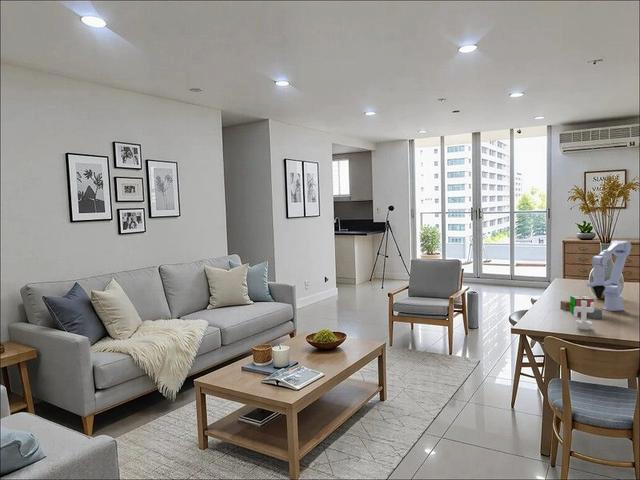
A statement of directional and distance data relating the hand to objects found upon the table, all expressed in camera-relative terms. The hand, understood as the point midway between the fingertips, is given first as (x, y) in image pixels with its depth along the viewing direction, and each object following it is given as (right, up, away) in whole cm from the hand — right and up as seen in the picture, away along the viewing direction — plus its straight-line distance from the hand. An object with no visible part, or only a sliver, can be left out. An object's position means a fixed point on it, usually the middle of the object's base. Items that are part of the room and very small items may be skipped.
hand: (598, 298), depth 285 cm
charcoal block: (-9, -10, -11) cm, 17 cm away
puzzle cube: (-11, -10, -1) cm, 14 cm away
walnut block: (-13, -9, +12) cm, 20 cm away
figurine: (-28, -12, -34) cm, 46 cm away
